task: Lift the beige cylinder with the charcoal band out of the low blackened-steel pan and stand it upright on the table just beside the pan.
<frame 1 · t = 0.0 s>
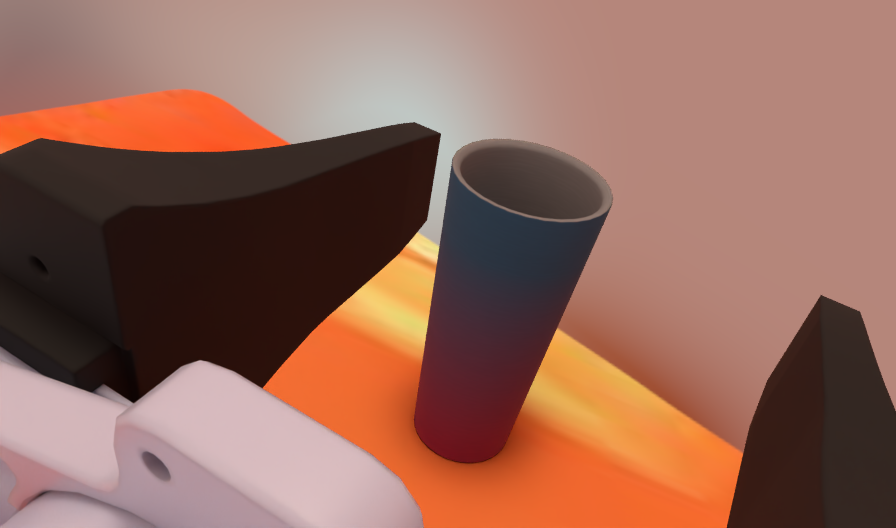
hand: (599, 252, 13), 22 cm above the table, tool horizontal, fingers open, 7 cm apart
cup: (460, 427, 39), on the table
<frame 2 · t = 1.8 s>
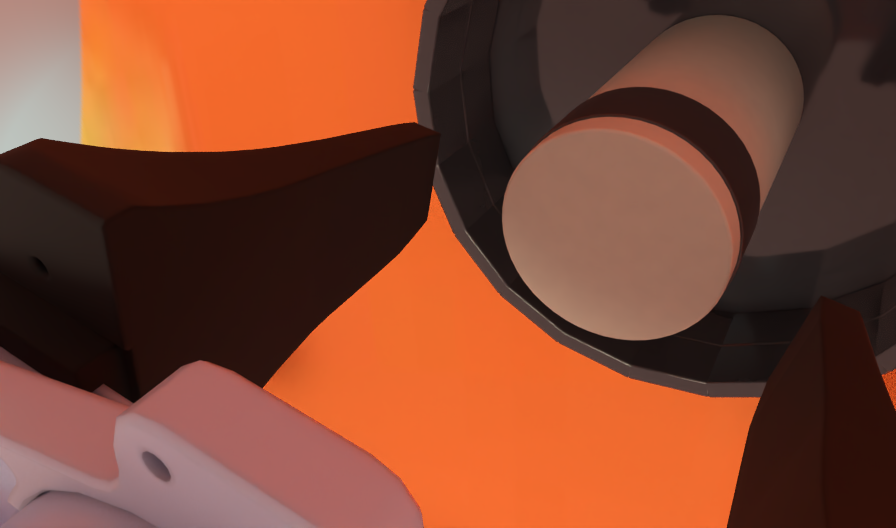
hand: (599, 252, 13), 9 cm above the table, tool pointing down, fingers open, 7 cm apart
pan: (716, 94, 20), on the table
beige cylinder: (712, 100, 19), resting on pan
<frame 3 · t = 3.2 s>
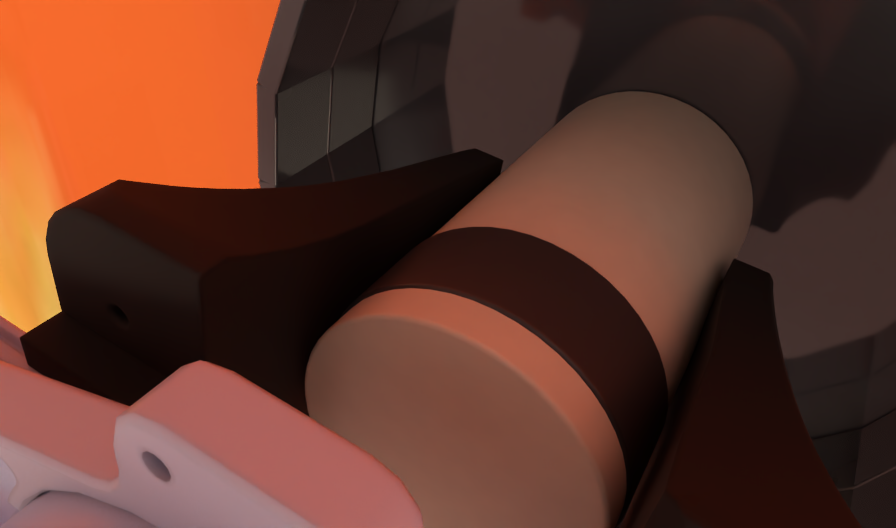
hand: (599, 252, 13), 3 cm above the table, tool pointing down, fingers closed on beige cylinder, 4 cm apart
pan: (647, 185, 15), on the table
beige cylinder: (639, 195, 15), point 1 cm above the table, touching gripper, pan
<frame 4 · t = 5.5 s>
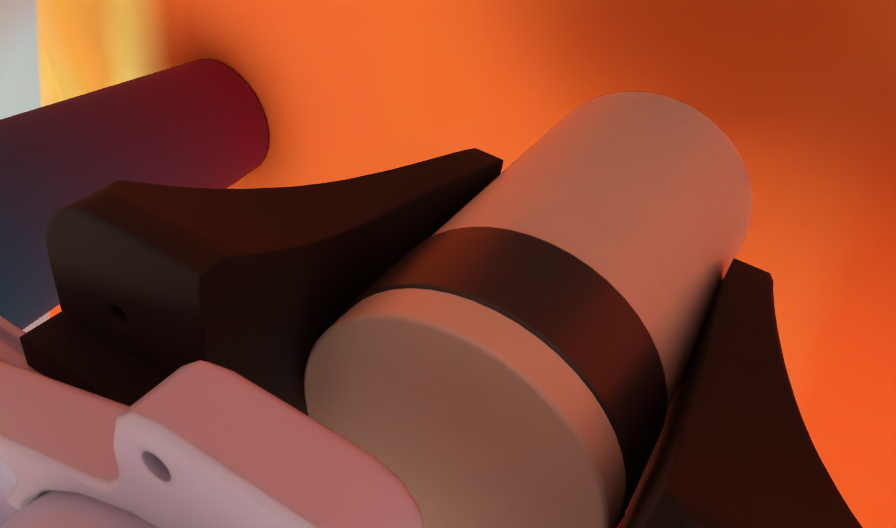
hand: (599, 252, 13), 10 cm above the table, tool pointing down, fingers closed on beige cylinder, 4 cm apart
cup: (226, 115, 32), on the table
beige cylinder: (638, 195, 15), point 7 cm above the table, touching gripper
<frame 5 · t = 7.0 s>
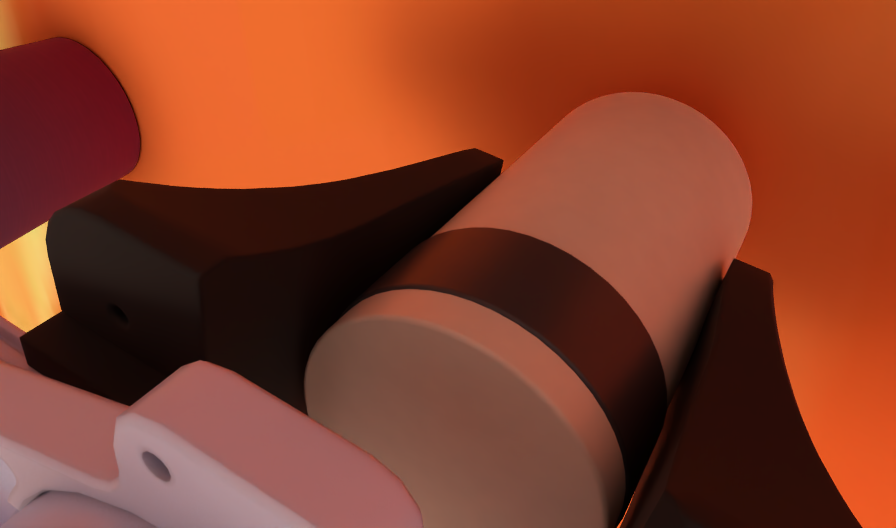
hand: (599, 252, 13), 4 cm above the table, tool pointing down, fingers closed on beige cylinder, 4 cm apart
cup: (92, 107, 26), on the table
beige cylinder: (638, 195, 15), point 1 cm above the table, touching gripper
when the fingers open (2 cm above the table, at t = 8.0 s): beige cylinder stays where it is, on the table.
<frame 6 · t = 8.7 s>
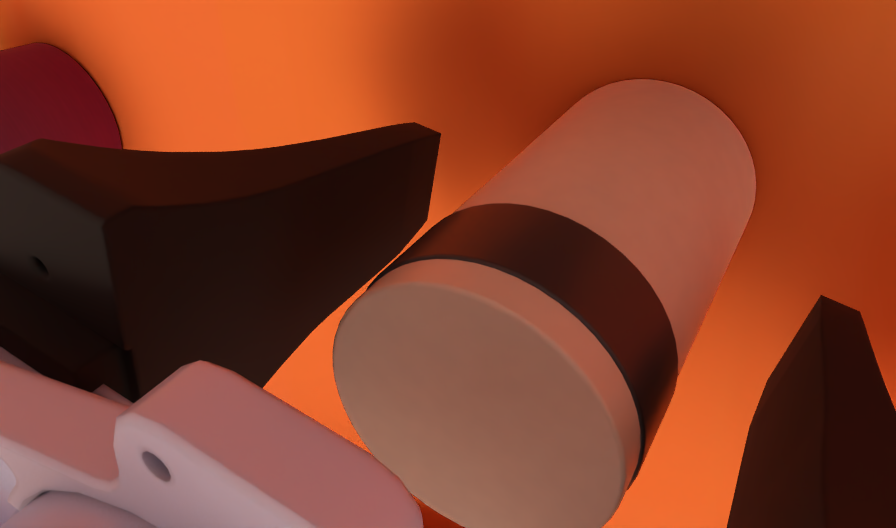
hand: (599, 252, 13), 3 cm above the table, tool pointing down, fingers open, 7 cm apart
cup: (74, 114, 25), on the table
beige cylinder: (645, 180, 16), on the table
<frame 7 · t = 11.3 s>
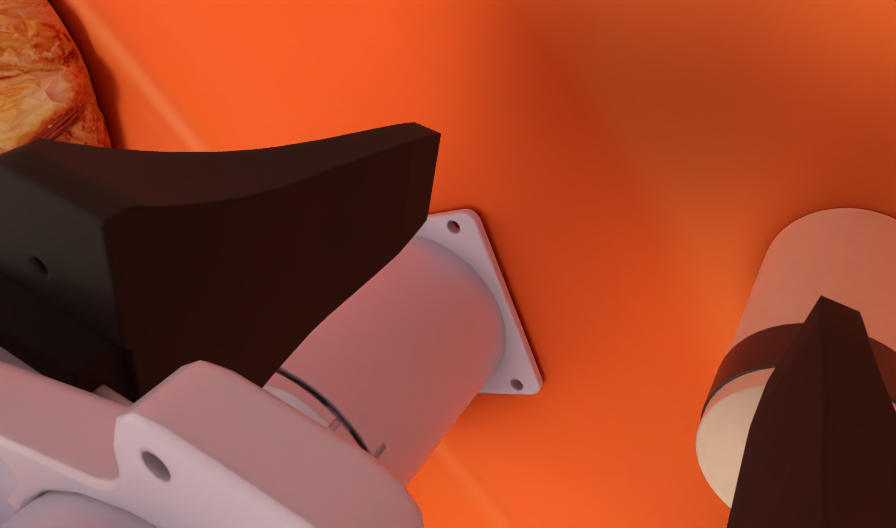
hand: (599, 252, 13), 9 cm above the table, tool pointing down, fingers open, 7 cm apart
croissant: (55, 75, 36), on the table
beige cylinder: (846, 277, 21), on the table
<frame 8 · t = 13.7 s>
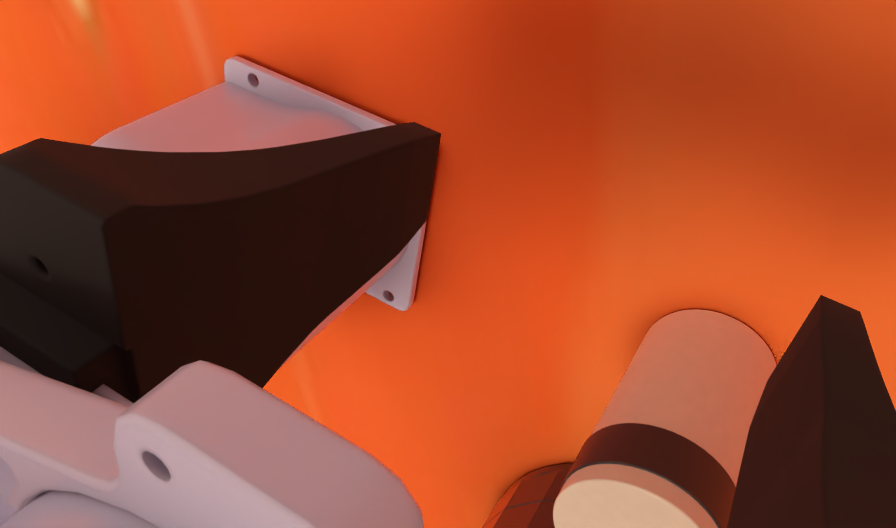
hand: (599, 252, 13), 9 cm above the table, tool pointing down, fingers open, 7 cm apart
beige cylinder: (707, 364, 25), on the table
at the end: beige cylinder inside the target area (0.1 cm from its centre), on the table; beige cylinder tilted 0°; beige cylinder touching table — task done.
